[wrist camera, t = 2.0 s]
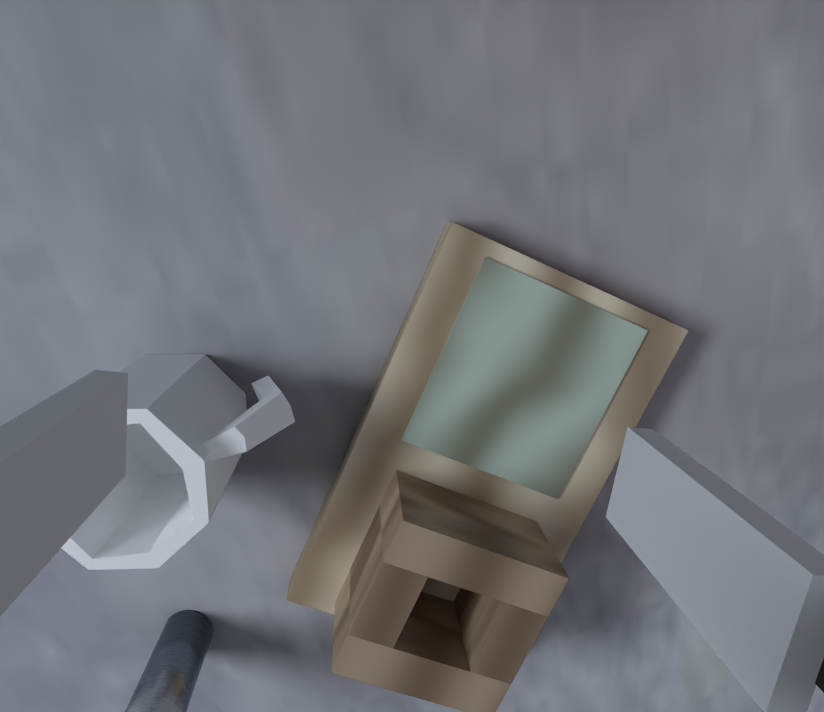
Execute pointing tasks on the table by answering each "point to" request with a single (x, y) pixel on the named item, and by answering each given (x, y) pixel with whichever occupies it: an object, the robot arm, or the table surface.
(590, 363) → the square hole base block
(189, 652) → the cylindrical pin
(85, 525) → the mug
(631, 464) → the robot arm
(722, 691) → the table surface
